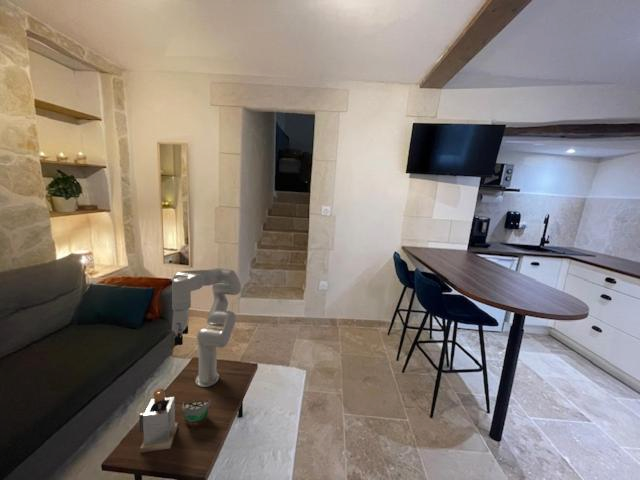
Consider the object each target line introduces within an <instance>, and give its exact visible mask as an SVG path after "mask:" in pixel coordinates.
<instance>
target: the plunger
mask: <svg viewBox="0 0 640 480" xmlns="http://www.w3.org/2000/svg"><path fill="white" fill-rule="evenodd" d="M165 398H166V390H165V389H164V388H159V389H156V390H155V391H154V392H153V399H154V404H158V411H161V403H163V402H164V401H165Z"/></svg>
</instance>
